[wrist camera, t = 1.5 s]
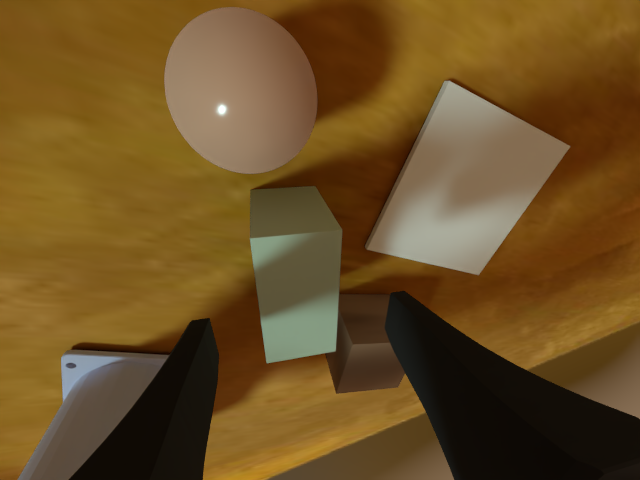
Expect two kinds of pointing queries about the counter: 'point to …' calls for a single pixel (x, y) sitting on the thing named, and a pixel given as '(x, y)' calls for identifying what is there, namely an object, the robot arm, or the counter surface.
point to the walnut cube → (363, 346)
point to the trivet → (464, 183)
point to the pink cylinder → (241, 90)
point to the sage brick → (295, 271)
